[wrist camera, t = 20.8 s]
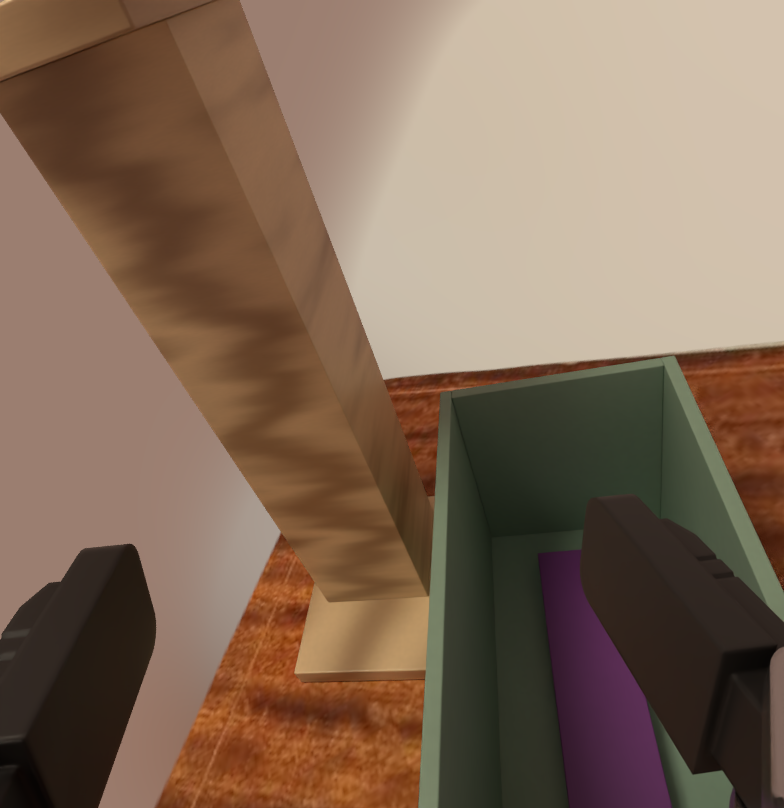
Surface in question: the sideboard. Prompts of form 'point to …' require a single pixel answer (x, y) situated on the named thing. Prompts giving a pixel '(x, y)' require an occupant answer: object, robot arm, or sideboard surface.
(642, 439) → the trash bin
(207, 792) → the sideboard surface
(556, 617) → the chocolate bar
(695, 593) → the robot arm
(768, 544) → the sideboard surface
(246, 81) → the stand
